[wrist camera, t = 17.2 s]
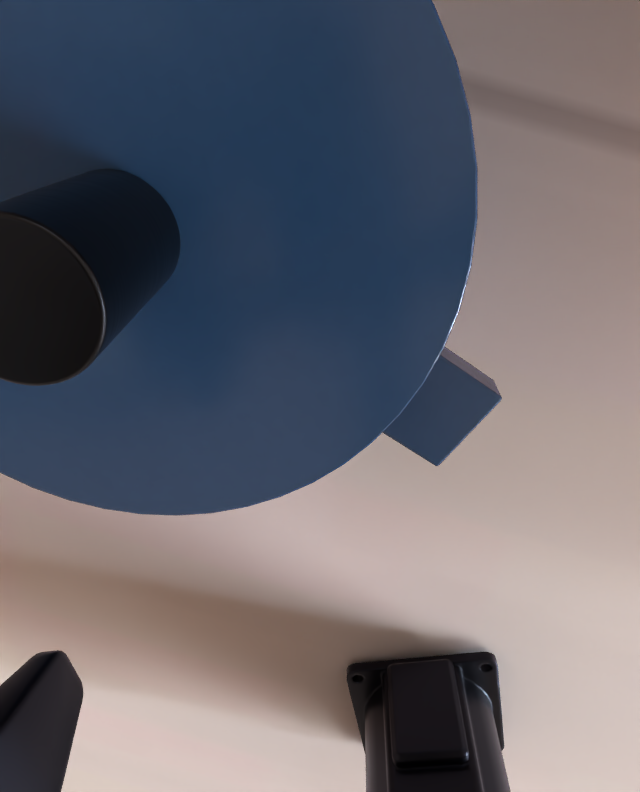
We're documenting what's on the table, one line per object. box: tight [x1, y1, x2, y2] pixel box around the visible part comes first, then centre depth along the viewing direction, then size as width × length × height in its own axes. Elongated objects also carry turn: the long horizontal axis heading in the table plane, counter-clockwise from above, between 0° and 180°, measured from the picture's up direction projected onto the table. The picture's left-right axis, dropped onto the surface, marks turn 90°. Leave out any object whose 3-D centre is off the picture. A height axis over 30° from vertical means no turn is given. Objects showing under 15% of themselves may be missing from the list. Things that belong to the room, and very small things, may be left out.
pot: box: [383, 346, 502, 466], centre depth 15 cm, size 12×18×6 cm
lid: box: [0, 0, 477, 515], centre depth 10 cm, size 13×13×5 cm
